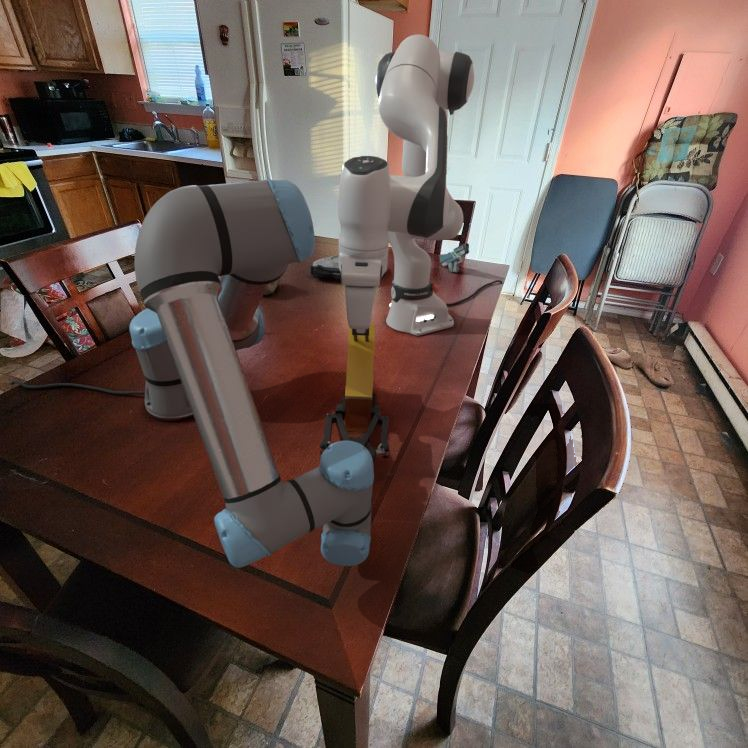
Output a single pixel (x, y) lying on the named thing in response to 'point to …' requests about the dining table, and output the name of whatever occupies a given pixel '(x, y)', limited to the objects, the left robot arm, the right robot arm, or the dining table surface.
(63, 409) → the dining table surface
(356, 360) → the lid
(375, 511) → the dining table surface
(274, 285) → the lumpy boulder
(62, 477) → the dining table surface
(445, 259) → the toy gun
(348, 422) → the chest
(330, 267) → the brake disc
